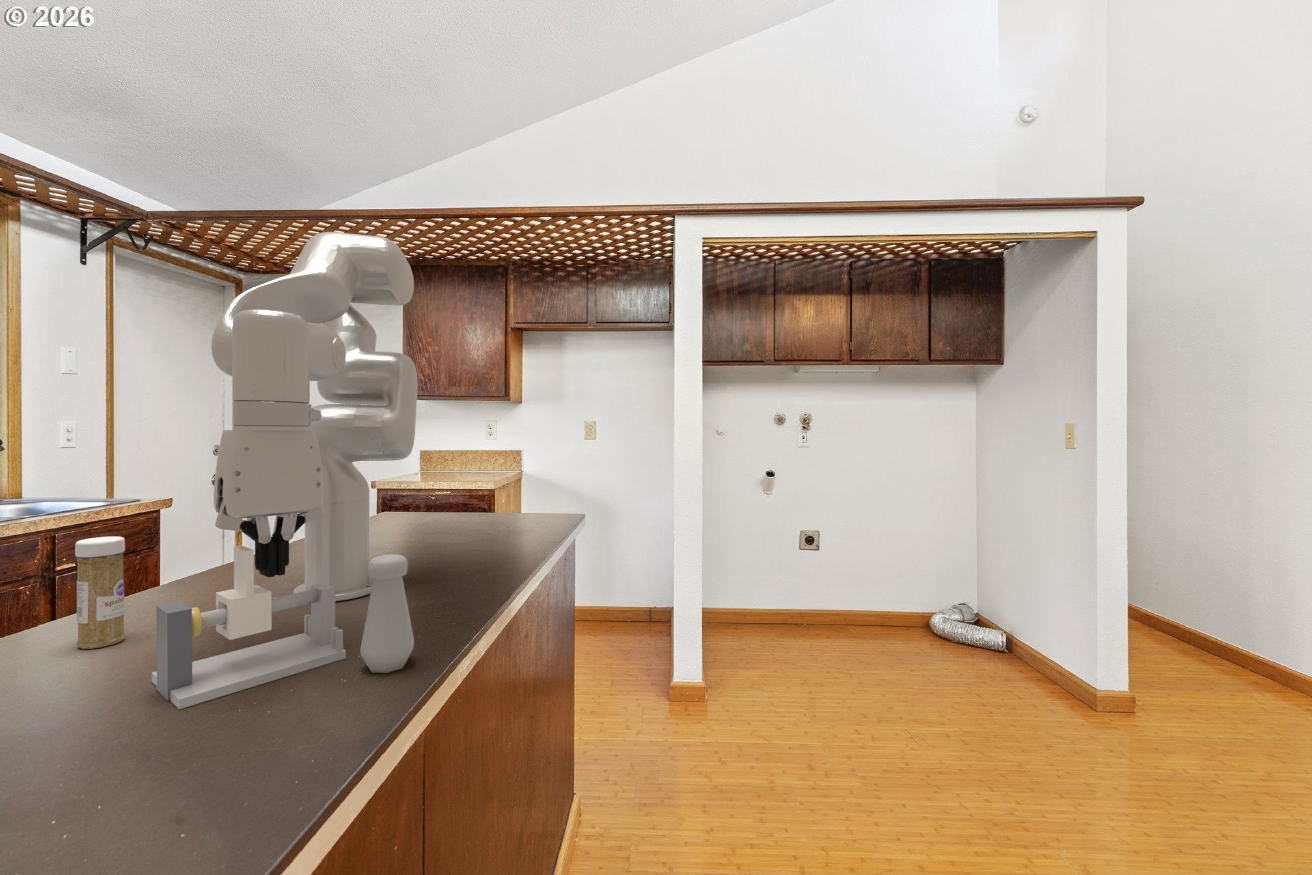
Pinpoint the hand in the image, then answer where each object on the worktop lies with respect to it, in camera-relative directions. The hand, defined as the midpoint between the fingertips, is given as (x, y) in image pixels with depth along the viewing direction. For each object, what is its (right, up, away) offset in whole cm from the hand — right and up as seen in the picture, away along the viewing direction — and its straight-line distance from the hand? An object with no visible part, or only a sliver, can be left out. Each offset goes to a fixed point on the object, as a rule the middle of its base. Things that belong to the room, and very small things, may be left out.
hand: (272, 573), depth 67 cm
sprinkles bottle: (-26, -11, +6) cm, 29 cm away
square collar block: (-2, -6, -2) cm, 7 cm away
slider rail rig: (-1, -11, -1) cm, 11 cm away
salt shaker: (+14, -11, 0) cm, 17 cm away
